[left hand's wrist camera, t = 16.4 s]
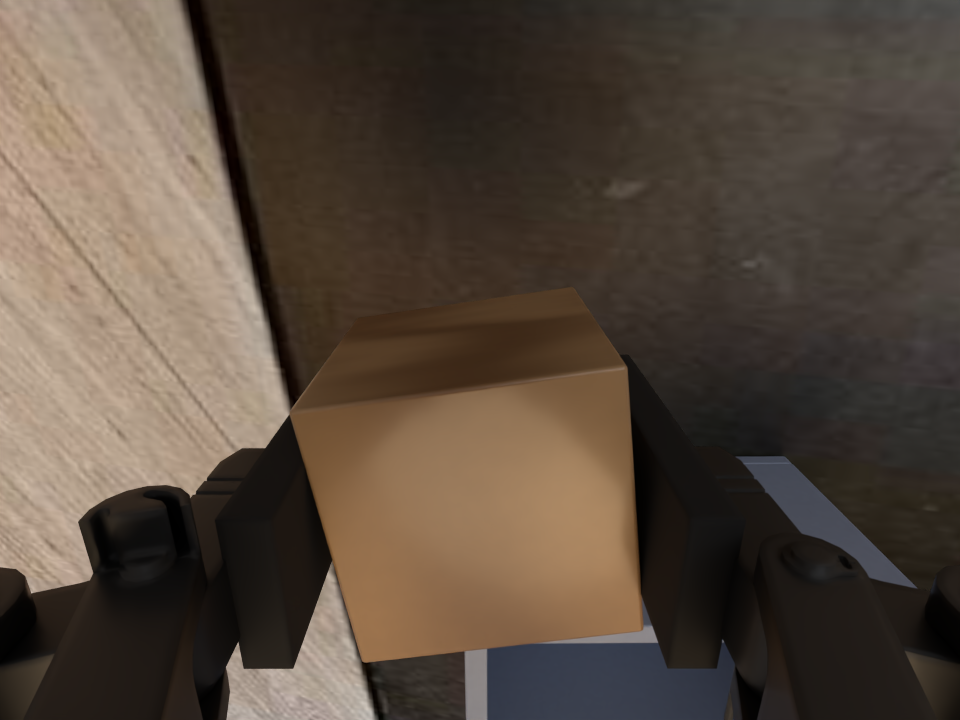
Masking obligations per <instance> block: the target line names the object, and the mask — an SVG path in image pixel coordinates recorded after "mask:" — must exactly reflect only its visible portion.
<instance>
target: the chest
mask: <svg viewBox="0 0 960 720" xmlns="http://www.w3.org/2000/svg"><path fill="white" fill-rule="evenodd" d="M736 458H738V459H740V460H741V461H742V462H743V463H744V465H745V466H746V467H747V468H748V469H749V471H750V472H751V473H752V474H753V475H754V479H757V480H758V481H759V483H760V484H761V485H762V486H763V487H764V489H765V493H769V495H770V496H771V497H772V498H773V500H774V501H775V502H776V503H777V504H778V506H779V507H780V508H781V509H782V510H783V512H784V513H785V514H786V515H787V516H788V518H789V519H790V520H791V521H792V522H793V524H794V525H795V526H796V527H797V528H798V530H799V531H800V532H801V533H802V534H805V535H809V536H813V537H816V538H820V539H823V540H825V541H827V542H829V543H831V544H834V545H836V546H838V547H840V548H842V549H843V550H844V551H846V552H847V553H848V554H850V555H851V556H852V557H854V558H855V559H857V561H858V562H859V563H860V565H861V566H862V567H863V568H864V570H865V571H866V572H867V574H868V576H869V578H872V579H876V580H880V581H884V582H889V583H894V584H898V585H903V586H908V587H913V588H916V587H915V586H914V585H913V584H912V583H911V582H910V581H909V580H908V579H907V578H906V577H905V576H904V575H903V574H902V573H901V572H900V571H899V570H898V569H897V568H896V567H895V566H894V565H893V564H892V563H891V562H890V561H889V560H888V559H887V558H886V557H885V556H884V555H883V554H882V553H881V552H880V551H879V550H878V549H877V548H876V547H875V546H874V545H873V544H872V543H871V542H870V541H869V540H868V539H867V538H866V537H865V536H864V535H863V534H862V533H861V532H860V531H859V530H858V529H857V528H856V527H855V526H854V525H853V524H852V523H851V522H850V521H849V520H848V519H847V518H846V517H845V516H844V515H843V514H842V513H841V512H840V511H839V510H838V509H837V508H836V507H835V506H834V505H833V504H832V503H831V502H830V501H829V500H828V499H827V498H826V497H825V496H824V495H823V494H822V493H821V492H820V491H819V490H818V489H817V488H816V487H815V486H814V485H813V484H812V483H811V482H810V481H809V480H808V479H807V478H806V477H805V476H804V475H803V474H802V473H801V472H800V471H799V470H798V469H797V468H796V467H795V466H794V465H793V464H791V462H790V461H789V460H788V459H787V458H786V457H784V456H742V457H736ZM642 606H643V622H644V627H643V630H642V631H640V632H631V633H622V634H613V635H604V636H596V637H587V638H578V639H569V640H560V641H551V642H543V643H534V644H525V645H516V646H507V647H498V648H490V649H481V650H472V651H465V697H466V720H724V713H725V708H726V704H727V699H728V694H729V690H730V685H731V680H732V675H733V671H734V666H735V663H734V661H733V659H732V657H731V655H730V653H729V651H728V649H727V647H726V645H725V643H724V641H723V640H722V645H721V650H720V655H719V660H718V665H717V669H667V666H666V663H665V660H664V658H663V655H662V652H661V649H660V646H659V644H658V641H657V638H656V635H655V633H654V630H653V627H652V624H651V621H650V619H649V616H648V613H647V610H646V607H645V605H644V602H643V599H642ZM733 720H734V717H733Z"/></svg>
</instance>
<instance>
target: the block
mask: <svg viewBox="0 0 960 720" xmlns="http://www.w3.org/2000/svg"><path fill="white" fill-rule="evenodd" d="M290 418H291V421H292V424H293V428H294V431H295V435H296V438H297V441H298V445H299V448H300V451H301V455H302V458H303V462H304V465H305V468H306V472H307V475H308V479H309V482H310V485H311V489H312V492H313V496H314V499H315V502H316V506H317V509H318V513H319V516H320V519H321V523H322V526H323V530H324V533H325V536H326V540H327V543H328V547H329V550H330V553H331V557H332V560H333V564H334V567H335V570H336V574H337V577H338V581H339V584H340V587H341V591H342V594H343V598H344V601H345V604H346V608H347V611H348V615H349V618H350V621H351V625H352V628H353V632H354V635H355V638H356V642H357V645H358V649H359V652H360V655H361V659H362V661H363V662H375V661H384V660H392V659H401V658H410V657H419V656H428V655H437V654H445V653H454V652H463V651H472V650H481V649H490V648H498V647H507V646H516V645H525V644H534V643H543V642H551V641H560V640H569V639H578V638H587V637H596V636H604V635H613V634H622V633H631V632H640V631H642V630H643V627H644V622H643V606H642V596H641V574H640V558H639V542H638V526H637V510H636V494H635V478H634V462H633V445H632V429H631V413H630V397H629V381H628V368H627V366H626V364H625V363H624V361H623V360H622V358H621V357H620V355H619V354H618V352H617V351H616V349H615V348H614V347H613V345H612V344H611V342H610V341H609V339H608V338H607V336H606V335H605V333H604V332H603V330H602V329H601V327H600V326H599V324H598V323H597V321H596V320H595V319H594V317H593V316H592V314H591V313H590V311H589V310H588V308H587V307H586V305H585V304H584V302H583V301H582V299H581V298H580V296H579V295H578V293H577V292H576V291H575V289H574V288H573V287H567V288H561V289H554V290H547V291H540V292H533V293H526V294H519V295H512V296H505V297H499V298H492V299H485V300H478V301H471V302H464V303H457V304H450V305H443V306H436V307H430V308H423V309H416V310H409V311H402V312H395V313H388V314H381V315H374V316H368V317H361V318H358V319H357V320H356V321H355V322H354V324H353V325H352V326H351V328H350V329H349V331H348V332H347V333H346V335H345V336H344V337H343V339H342V340H341V342H340V343H339V344H338V346H337V347H336V348H335V350H334V351H333V353H332V354H331V355H330V357H329V358H328V359H327V361H326V362H325V364H324V365H323V366H322V368H321V369H320V371H319V372H318V373H317V375H316V376H315V377H314V379H313V380H312V382H311V383H310V384H309V386H308V387H307V388H306V390H305V391H304V393H303V394H302V395H301V397H300V398H299V399H298V401H297V402H296V404H295V405H294V406H293V408H292V409H291V410H290Z"/></svg>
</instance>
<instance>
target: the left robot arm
mask: <svg viewBox="0 0 960 720" xmlns="http://www.w3.org/2000/svg"><path fill="white" fill-rule="evenodd" d="M620 357H621V358H622V360H623V361H624V363H625V364H626V366H627V368H628V381H629V397H630V413H631V429H632V445H633V462H634V478H635V494H636V510H637V526H638V542H639V558H640V574H641V596H642V599H643V602H644V605H645V607H646V610H647V613H648V616H649V619H650V621H651V624H652V627H653V630H654V633H655V635H656V638H657V641H658V644H659V646H660V649H661V652H662V655H663V658H664V660H665V663H666V666H667V669H717V665H718V660H719V655H720V650H721V645H722V640H723V641H724V643H725V645H726V647H727V649H728V651H729V653H730V655H731V657H732V659H733V661H734V663H735V666H734V671H733V675H732V680H731V685H730V690H729V694H728V699H727V704H726V708H725V713H724V720H733V717H734V720H960V565H957V566H948V567H945V568H943V569H942V570H941V571H940V572H938V573H937V574H936V577H935V580H934V583H933V586H932V588H931V591H927V590H922V589H917V588H913V587H908V586H903V585H898V584H894V583H889V582H884V581H880V580H876V579H872V578H869V576H868V574H867V572H866V571H865V570H864V568H863V567H862V566H861V565H860V563H859V562H858V561H857V559H855V558H854V557H852V556H851V555H850V554H848V553H847V552H846V551H844V550H843V549H842V548H840V547H838V546H836V545H834V544H831V543H829V542H827V541H825V540H823V539H820V538H816V537H813V536H809V535H805V534H802V533H801V532H800V531H799V530H798V528H797V527H796V526H795V525H794V524H793V522H792V521H791V520H790V519H789V518H788V516H787V515H786V514H785V513H784V512H783V510H782V509H781V508H780V507H779V506H778V504H777V503H776V502H775V501H774V500H773V498H772V497H771V496H770V495H769V493H765V489H764V487H763V486H762V485H761V484H760V483H759V481H758V480H757V479H754V475H753V474H752V473H751V472H750V471H749V469H748V468H747V467H746V466H745V465H744V463H743V462H742V461H741V460H740V459H738V458H736V457H735V456H733V455H732V454H730V453H728V452H727V451H725V450H724V449H722V448H720V447H694V446H693V444H692V443H691V442H690V440H689V439H688V437H687V436H686V435H685V433H684V432H683V430H682V429H681V428H680V426H679V425H678V423H677V422H676V421H675V419H674V418H673V416H672V415H671V414H670V412H669V411H668V409H667V408H666V407H665V405H664V404H663V402H662V401H661V400H660V398H659V397H658V395H657V394H656V393H655V391H654V390H653V388H652V387H651V386H650V384H649V383H648V381H647V380H646V379H645V377H644V376H643V374H642V373H641V372H640V370H639V369H638V367H637V366H636V364H635V363H634V362H633V360H632V359H631V357H630V356H629V355H620ZM78 523H79V526H80V530H81V533H82V536H83V540H84V543H85V546H86V550H87V553H88V556H89V560H90V563H91V566H92V570H93V575H92V577H91V579H90V581H87V582H83V583H79V584H74V585H70V586H65V587H60V588H55V589H51V590H46V591H41V592H36V593H32V594H31V591H30V589H29V586H28V583H27V580H26V577H25V576H24V575H23V574H22V573H20V572H19V571H18V570H16V569H9V568H1V567H0V720H226V718H227V710H228V702H229V694H230V689H229V681H228V675H227V671H226V666H227V664H228V662H229V659H230V657H231V655H232V653H233V651H234V649H235V647H236V645H237V643H238V642H239V647H240V652H241V657H242V662H243V667H244V669H293V668H294V665H295V662H296V659H297V657H298V654H299V651H300V648H301V646H302V643H303V640H304V637H305V634H306V632H307V629H308V626H309V623H310V620H311V618H312V615H313V612H314V609H315V606H316V604H317V601H318V598H319V595H320V592H321V590H322V587H323V584H324V581H325V578H326V576H327V573H328V570H329V567H330V564H331V562H332V557H331V553H330V550H329V547H328V543H327V540H326V536H325V533H324V530H323V526H322V523H321V519H320V516H319V513H318V509H317V506H316V502H315V499H314V496H313V492H312V489H311V485H310V482H309V479H308V475H307V472H306V468H305V465H304V462H303V458H302V455H301V451H300V448H299V445H298V441H297V438H296V435H295V431H294V428H293V424H292V421H291V418H290V415H289V416H288V417H287V419H286V420H285V422H284V423H283V424H282V426H281V427H280V429H279V430H278V431H277V433H276V434H275V436H274V437H273V438H272V440H271V441H270V443H269V444H268V445H267V447H266V448H242V449H240V450H239V451H237V452H235V453H234V454H232V455H231V456H229V457H228V458H226V459H224V460H223V461H221V462H220V463H219V464H218V465H217V467H216V468H215V469H214V470H213V471H212V473H211V474H210V475H209V476H208V478H207V481H204V482H203V484H202V485H201V486H200V487H199V488H198V490H197V491H196V495H193V496H192V497H191V498H190V496H189V494H188V493H186V492H185V491H184V490H183V489H181V488H177V487H172V486H167V485H161V486H146V487H142V488H137V489H133V490H129V491H125V492H123V493H120V494H118V495H115V496H113V497H110V498H108V499H106V500H104V501H103V502H101V503H99V504H98V505H96V506H95V507H93V508H91V509H90V510H89V511H88V512H87V513H86V514H85V515H84V516H83V517H82V518H81V519H80V520H79V522H78Z"/></svg>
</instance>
